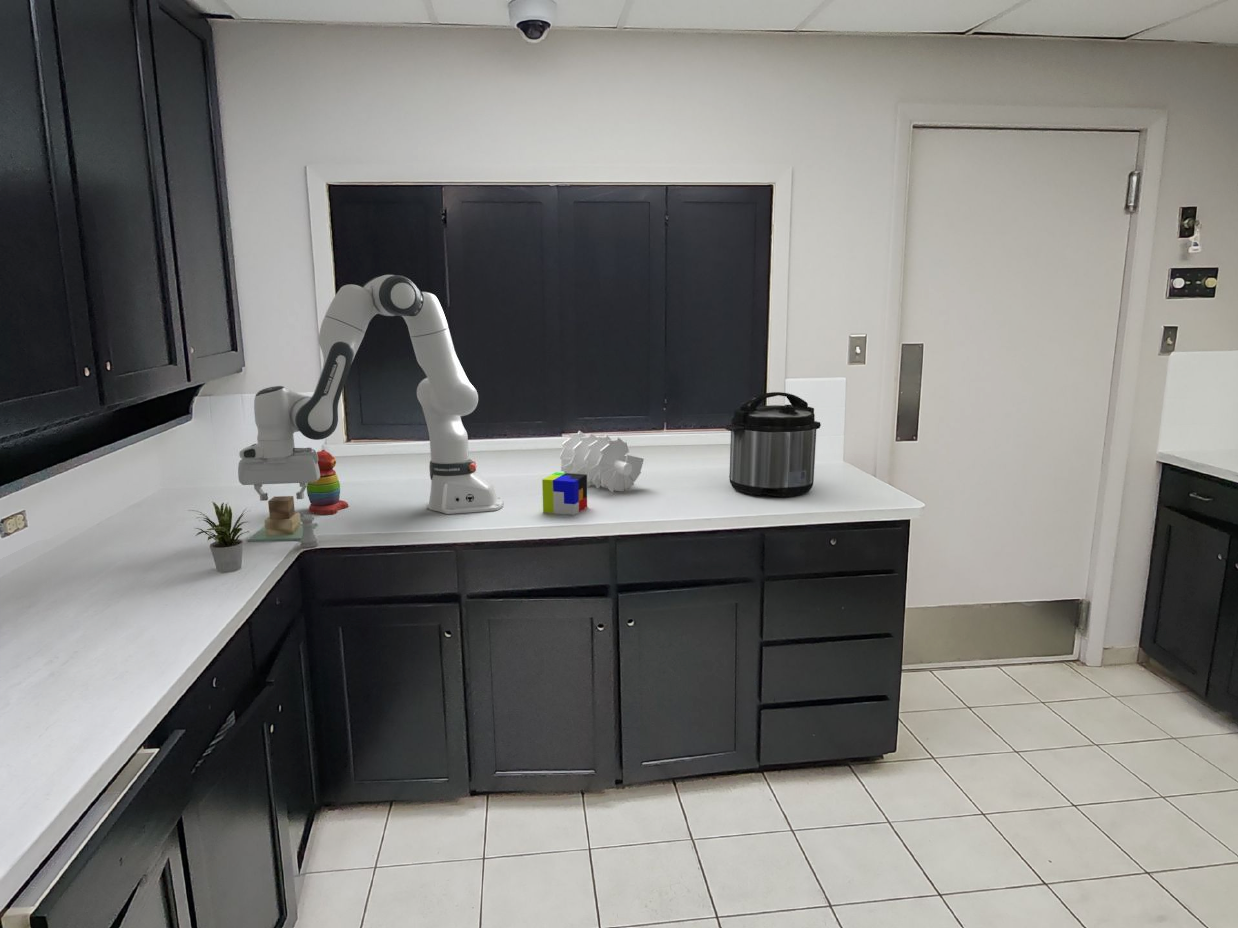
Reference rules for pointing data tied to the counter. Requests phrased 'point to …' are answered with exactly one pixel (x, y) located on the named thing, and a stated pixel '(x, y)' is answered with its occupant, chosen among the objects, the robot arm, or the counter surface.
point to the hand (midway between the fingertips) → (282, 499)
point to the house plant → (225, 540)
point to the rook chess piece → (308, 532)
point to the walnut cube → (281, 507)
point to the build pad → (262, 536)
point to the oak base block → (282, 525)
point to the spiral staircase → (600, 461)
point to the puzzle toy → (564, 493)
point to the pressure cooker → (773, 447)
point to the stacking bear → (325, 488)
